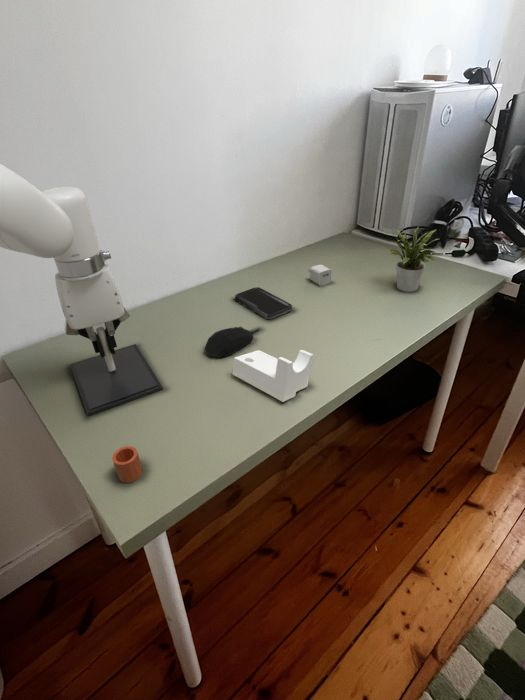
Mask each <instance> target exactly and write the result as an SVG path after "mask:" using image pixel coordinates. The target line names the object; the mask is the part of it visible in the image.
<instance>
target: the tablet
mask: <svg viewBox="0 0 525 700" xmlns="http://www.w3.org/2000/svg"><path fill="white" fill-rule="evenodd" d="M114 350H115V353H116V354H112V358H113V361H114V364H115V368H116V369H115V370H114V371H113V372H110V371H109V370H108V367H107V364H106V360H105V357H103V358H101V355H100V354H99V355H95V356H93V357H89V358H86V359H83V360H79V361H76V362H74V363H70V364H69V366H70V370H71V372H72V374H73V378H74V381H75V383H76V387H77V389H78V392H79V394H80V398H81V400H82V401H81V402H82V403H83V406H84V409H85V413H86V415H87V417H91V416H94V415H96V414H99V413H102V412H105V411H108V410H110V409H113V408H115V407H118V406H121V405H123V404H127V403H129V402H133V401H135V400H138V399H140V398H143V397H146V396H149V395H153V394H154V393H158V392H160V391H163V388H164V387H163V386H162V384H161V382H160V381H159V379H158V377H157V376H156V374H155V372H154V371H153V369H152V368H151V366H150V365H149V363H148V361H147V359H146V358H145V356H144V355H143V353H142V351H141V350H140V348H139V347H138V345H137V344H136V343H134V344H131V345H128V346H124V347H121V348H117V349H114Z"/></svg>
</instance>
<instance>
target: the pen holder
mask: <svg viewBox="0 0 525 700" xmlns="http://www.w3.org/2000/svg"><path fill="white" fill-rule="evenodd" d="M111 459H112V463H113V466H114V468H115V472H116V475H117V478H118V480H119V481H120V482H122V483H126V484H129V483H133V482H135V481H138V479H139V478H141V477H142V475H143V465H142V463H141V458H140V456H139V452H138V450H137V448H135V447H134V446H133V445H132V446H131V445H126V446H123V447H120V448H118V449H117V450H115V451H114V453H113V454H112V457H111Z"/></svg>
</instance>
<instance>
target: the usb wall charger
mask: <svg viewBox="0 0 525 700" xmlns="http://www.w3.org/2000/svg"><path fill="white" fill-rule="evenodd" d="M307 272H308V273H310V274H309V280H310V281H312V282H314V283H315V284H317V285H319V286H321V287H322V286H325V285H327V284H330V283H331V282H332V272H333V271H332V269H331V268H329V267H327V266H325V265H323V264H320V263H319V264H317V265H313V266H311V267H310V269H309V268H307Z"/></svg>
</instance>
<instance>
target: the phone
mask: <svg viewBox="0 0 525 700" xmlns="http://www.w3.org/2000/svg"><path fill="white" fill-rule="evenodd" d="M234 299H235V301H236V302H238V303H239V304H241V305H243V306H245V308H248V309H249V310H250V311H253V312H254V313H256V314H257V315H259V316H261V317H262V318H264V319H266V320H274V319H276V318H278V317H281V316H282V315H285V314H288V313H290V312H292V310H293V305H292V304H291V303H289V302H287V301H286V300H283V299H282V298H280V297H278V296H276V295H275V294H272V293H270V292H269V291H267V290H265V289H263V288H261V287H259V286H256V287H251V288H250V289H247V290H244V291H241V292H239V293H236V294H235V295H234Z"/></svg>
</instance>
